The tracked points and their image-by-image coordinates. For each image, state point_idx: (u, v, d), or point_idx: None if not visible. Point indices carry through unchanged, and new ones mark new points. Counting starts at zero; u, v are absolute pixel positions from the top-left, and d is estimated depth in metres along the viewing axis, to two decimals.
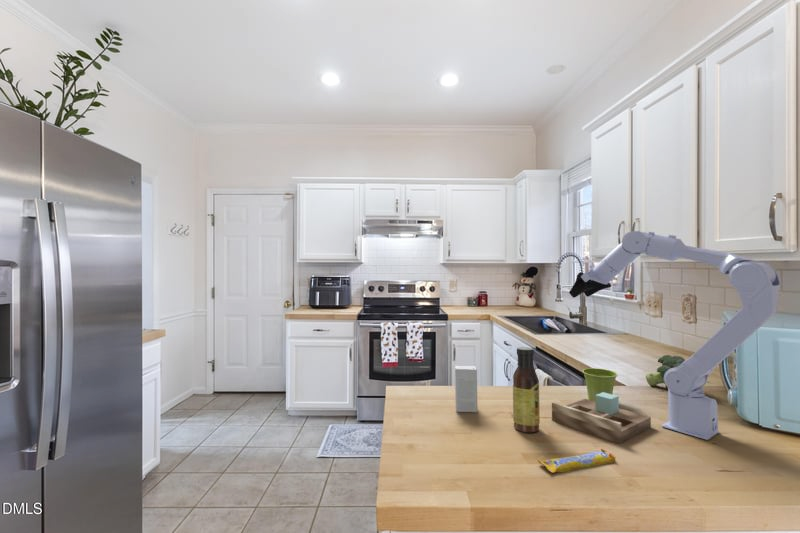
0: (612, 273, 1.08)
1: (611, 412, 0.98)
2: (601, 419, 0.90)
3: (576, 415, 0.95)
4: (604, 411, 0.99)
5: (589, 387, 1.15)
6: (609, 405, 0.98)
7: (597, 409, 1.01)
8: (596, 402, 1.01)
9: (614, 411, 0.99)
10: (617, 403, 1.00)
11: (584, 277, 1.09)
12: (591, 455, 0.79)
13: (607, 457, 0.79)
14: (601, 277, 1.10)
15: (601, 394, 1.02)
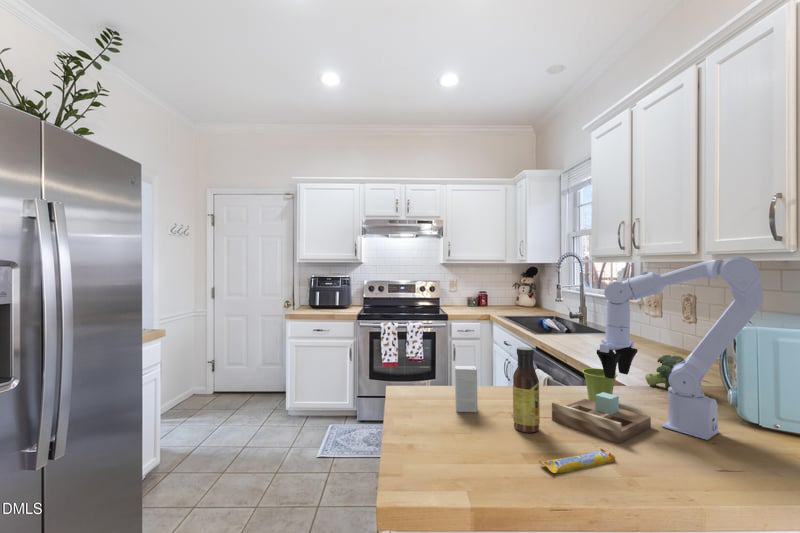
0: (623, 331, 1.02)
1: (611, 412, 0.98)
2: (601, 419, 0.90)
3: (576, 415, 0.95)
4: (604, 411, 0.99)
5: (589, 387, 1.15)
6: (609, 405, 0.98)
7: (597, 409, 1.01)
8: (596, 402, 1.01)
9: (614, 411, 0.99)
10: (617, 403, 1.00)
11: (603, 348, 1.01)
12: (591, 455, 0.79)
13: (607, 457, 0.79)
14: (618, 341, 1.02)
15: (601, 394, 1.02)
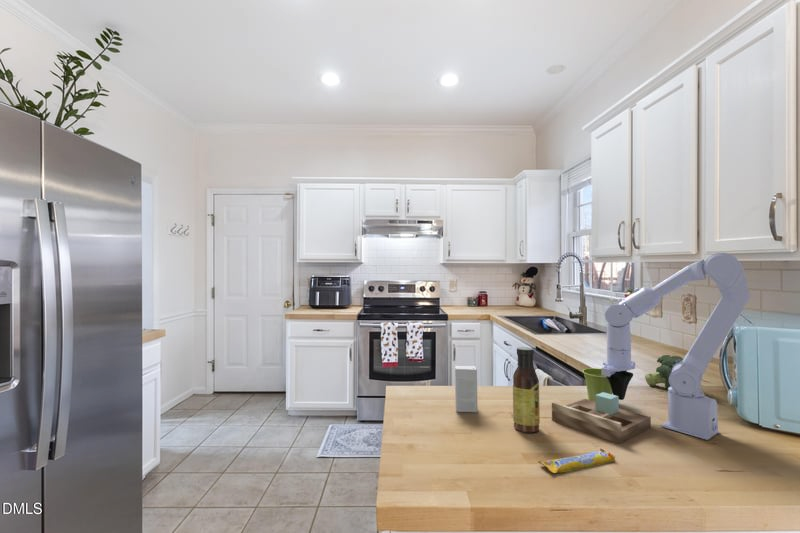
0: (625, 354, 1.02)
1: (611, 412, 0.98)
2: (601, 419, 0.90)
3: (576, 415, 0.95)
4: (604, 411, 0.99)
5: (589, 387, 1.15)
6: (609, 405, 0.98)
7: (597, 409, 1.01)
8: (596, 402, 1.01)
9: (614, 411, 0.99)
10: (617, 403, 1.00)
11: (604, 372, 1.00)
12: (591, 455, 0.79)
13: (607, 456, 0.79)
14: (620, 364, 1.02)
15: (601, 394, 1.02)
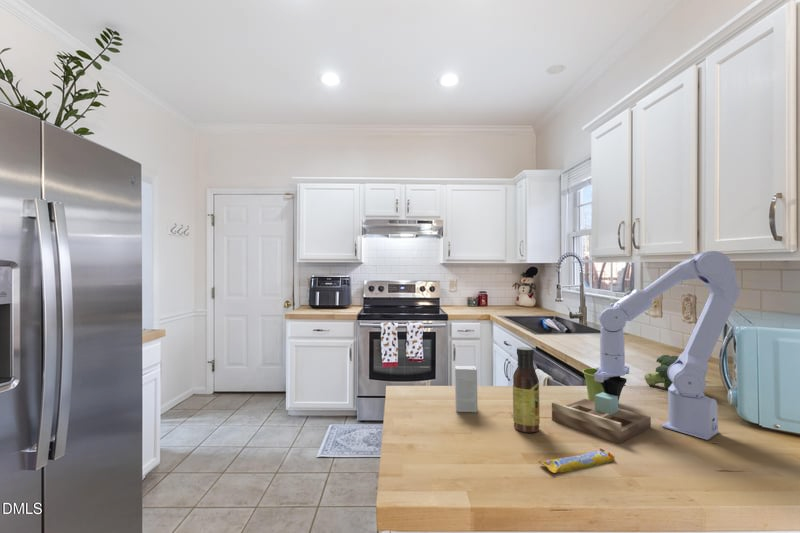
0: (618, 359, 1.00)
1: (610, 412, 0.98)
2: (601, 419, 0.90)
3: (576, 415, 0.95)
4: (603, 411, 0.99)
5: (589, 387, 1.15)
6: (608, 405, 0.98)
7: (596, 409, 1.01)
8: (595, 402, 1.01)
9: (613, 411, 0.99)
10: (616, 403, 1.00)
11: (597, 378, 0.98)
12: (591, 454, 0.79)
13: (606, 456, 0.79)
14: (613, 370, 1.00)
15: (600, 394, 1.01)
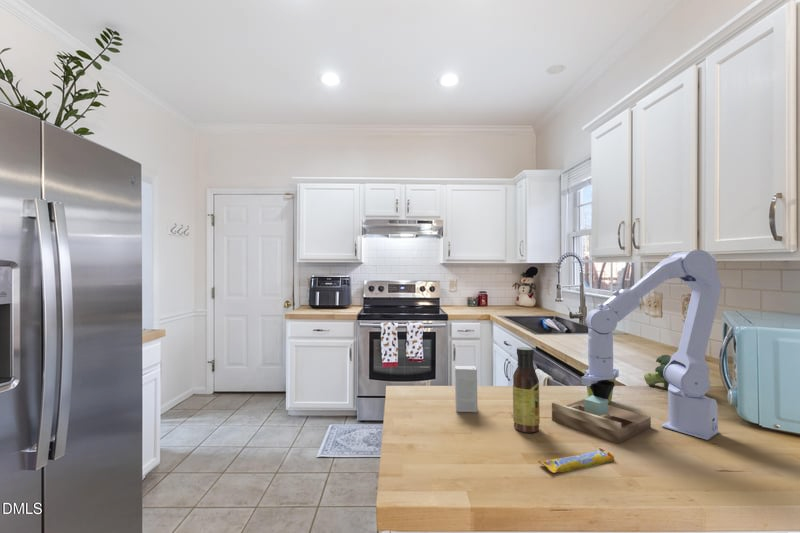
0: (606, 362, 0.96)
1: None
2: (601, 419, 0.90)
3: (576, 415, 0.95)
4: None
5: (589, 387, 1.15)
6: (598, 409, 0.95)
7: None
8: (585, 406, 0.98)
9: None
10: (606, 407, 0.97)
11: (585, 381, 0.95)
12: (591, 454, 0.79)
13: (606, 456, 0.79)
14: (601, 373, 0.96)
15: (590, 398, 0.98)
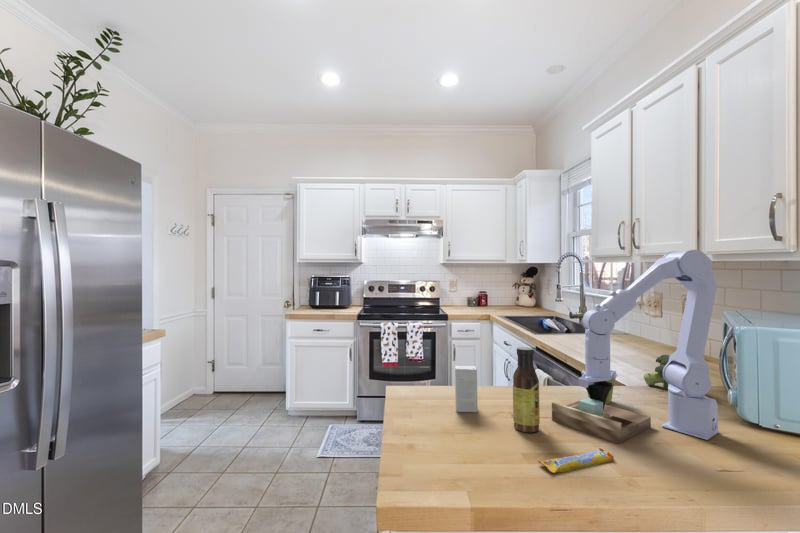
0: (603, 364, 0.95)
1: None
2: (601, 419, 0.90)
3: (576, 415, 0.95)
4: None
5: None
6: (592, 411, 0.94)
7: None
8: (579, 408, 0.97)
9: None
10: (601, 409, 0.95)
11: (582, 383, 0.94)
12: (590, 454, 0.79)
13: (606, 456, 0.79)
14: (598, 374, 0.96)
15: (585, 400, 0.97)
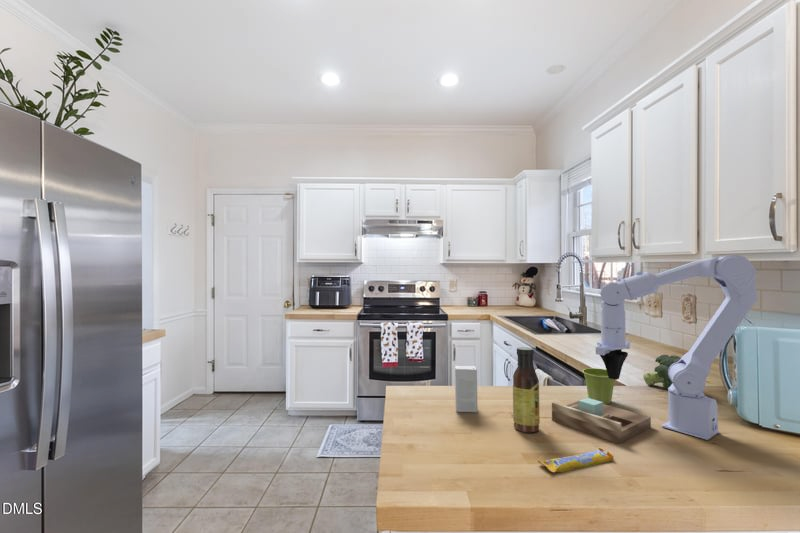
0: (619, 333, 1.00)
1: None
2: (601, 419, 0.90)
3: (576, 415, 0.95)
4: None
5: (589, 387, 1.15)
6: (592, 411, 0.94)
7: None
8: (579, 408, 0.97)
9: None
10: (601, 409, 0.95)
11: (599, 351, 0.99)
12: (590, 454, 0.79)
13: (605, 456, 0.79)
14: (614, 343, 1.00)
15: (585, 400, 0.97)
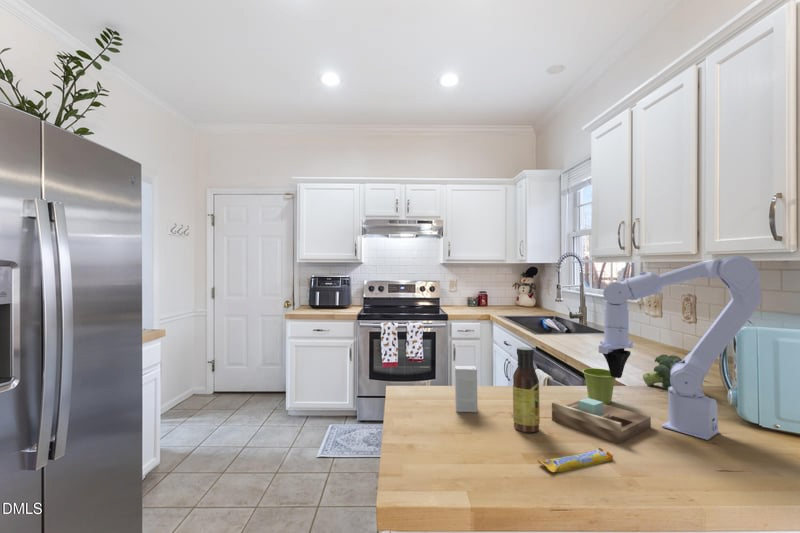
0: (622, 332, 1.01)
1: None
2: (601, 419, 0.90)
3: (576, 415, 0.95)
4: None
5: (589, 387, 1.15)
6: (592, 411, 0.94)
7: None
8: (579, 408, 0.97)
9: None
10: (601, 409, 0.95)
11: (602, 349, 1.00)
12: (590, 454, 0.79)
13: (605, 455, 0.80)
14: (617, 342, 1.01)
15: (585, 400, 0.97)
